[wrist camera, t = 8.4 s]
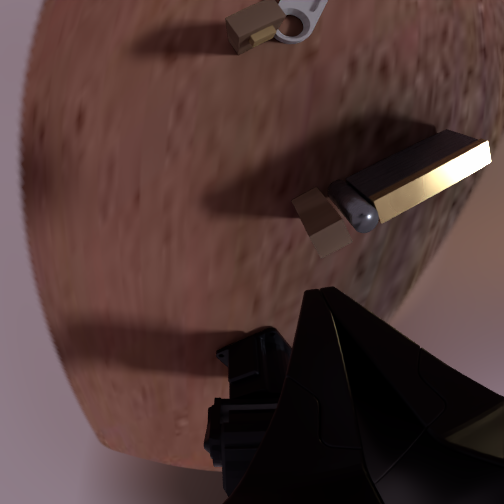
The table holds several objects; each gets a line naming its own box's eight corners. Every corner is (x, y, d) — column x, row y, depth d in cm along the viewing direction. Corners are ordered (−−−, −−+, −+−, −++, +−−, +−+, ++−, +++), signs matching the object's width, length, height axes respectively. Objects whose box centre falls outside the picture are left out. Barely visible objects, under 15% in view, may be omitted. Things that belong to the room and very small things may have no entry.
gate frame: (330, 208, 20) (358, 245, 15) (297, 220, 21) (315, 260, 16) (265, 23, 14) (276, -5, 9) (226, 35, 14) (221, 11, 9)
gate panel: (332, 205, 19) (357, 237, 15) (323, 186, 19) (348, 214, 15) (450, 145, 17) (491, 162, 13) (445, 126, 16) (488, 140, 12)
